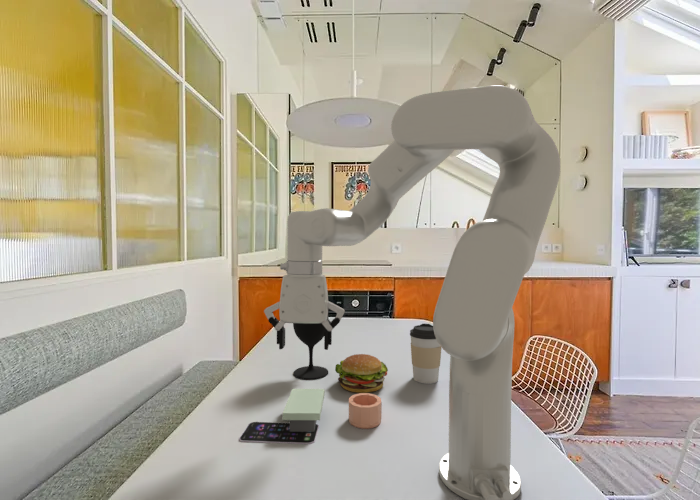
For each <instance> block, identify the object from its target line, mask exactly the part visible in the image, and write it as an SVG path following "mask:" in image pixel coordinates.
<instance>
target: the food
mask: <svg viewBox="0 0 700 500" xmlns="http://www.w3.org/2000/svg"><path fill="white" fill-rule="evenodd" d="M388 371H389V370H388V367H387V365H386V363H384V362H383V361H381V360H380V359H379V358H377V357H375V356H373V355H371V354H365V353H364V354H363V353H361V354H360V353H357V354H352V355H350V356H348V357H345V359H343V360H340V363H337V364H335V372H336V373H337V374H338V376H339V377H338V378H337V380H338V381H337V382H339V384H340V386H341V387H342V388H343V389H344V390H346V391H349V392H352V393H355V394H359V393H373V392H377V391H379V390H381V389H382V388H383V386H384V382H385V377H386V376H387V375H388Z"/></svg>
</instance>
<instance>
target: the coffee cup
mask: <svg viewBox="0 0 700 500" xmlns="http://www.w3.org/2000/svg"><path fill="white" fill-rule="evenodd" d="M409 336H410V354H411V364H412V375H413V376H412V377H413V381H416V382H418V383H422V384H435V383H437V382H438V381H439V376H440V375H439V374H440V366H441V359H442V358H441V357H442V347H441V346H440V345H439V343H438V341H437V339H436V337H435V334H434V329H433V324H431V323H422V324H419V325H414V326H413V328H412V329H410V330H409Z"/></svg>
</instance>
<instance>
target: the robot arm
mask: <svg viewBox="0 0 700 500" xmlns="http://www.w3.org/2000/svg"><path fill="white" fill-rule="evenodd" d="M390 126H391V128H390V129H391V130H390V131H391V135H392V138H393V141H392V142H391V143H390V144H389V145H388V146H387V147H386V148H385V149H384V150H383V151H382V152H381V153H380V154H379V155H377V156H376V157H375V158H374V159H373V160H372V161H371V162H370V164H369V165H368V167H367V173H368V176H369V179H370V186H369V189H368V191H367V192H366V194H365V196H364V197H362V199H361V200H360V201H359V202H358V203H356V204H355V205H354V206H353V207H352V208H351V209H349V210H343V209H336V208H320V209H316V210H298V211H295V210H294V211H291V212H290V213H289V215H288V216H287V221H286V222H287V223H286V224H287V229H286V230H287V239H286V240H287V242H286V243H287V244H286V245H287V246H286V248H287V249H286V251H287V253H286V254H287V255H286V256H287V257H286V259H287V260H286V261H285V262H283V263H280V266H279V268H280V270H284V271H285V272H286V273H285V275H283V276H282V281H281V287H280V298H279V301H277V302H276V303H274V304H271V305H270V306H268V307H266V308H265V309H264V310H263V313H264V314H265V317H266V318H267V320H268V323H270V325H271V326H272V327H273V328H274V330H275V331H276V344H277V345H278V346H279V347H278V348H279V350H283V349H284V348H285V346H286V328H285V326H284V325H286V324H293V323H322V324H323V326H324V327H325V328H326V329H325V332H324V337H323V338H324V340H323V341H324V344H323V345H324V346H323V348H324V349H323V350H326V351H328V350H329V346H332V342H333V341H332V335H333V334H332V333H333V332H332V331H333V330H334V329H335V327H336V326H338V324H339V323H340V322H341V320H342V318H343V316H344V314H345V313H346V312H345V309H344V308H342V307H340V306H339V305H337V304H335V303H334V302H331V301H329V294H328V284H327V279H326V278H327V276H326V275H325V274H323V247H340V246H341V247H345V246H346V247H350V246H355V245H358V244H360V243H362V242H363V241H364V240H366V239H367V238H368V237H370V236H371V235H372V234H374V232H375V231H377V230H378V229H379V228H380V227H381V226H382V225H384V224H385V223H386V221H388V219H389V218H390V216H392V213H393V212H394V210H395V208H396V207H397V206H398V202H399V201H400V200H401V198H403V197H404V195H406V194H407V193H408V192H409V191H410V190H411V189H413V187H415V186H416V185H417V184H418V183H419V182H421V181H422V180H423V179H424V178H426V176H428V175H429V174H430V173H431V172H432V171H434V170H435V169H436V168H437V167H438V166H439V165H441V164H442V163H443V162H444V161H446V160H447V159H448V158H449V157H450V155H452V154H453V153H454V151H455V150H460V151H461V150H479V151H480V152H481V153H482V154H483V155H485V156H486V157H487V158H489V160H491V161H494V162H495V163H496V164H497V165H498V168H499V174H498V177H497V180H496V182H495V185H494V187H493V189H492V192H491V195H490V198H489V202H488V205H487V207H486V211H485V213H484V216H483V219H482V220H481V221H478V222H476V223H474V224H472V225H471V226H470V227H468V228H467V229H466V230H465V231H464V232H463V233H462V235H461V236H460V238H459V239H458V240H457V243H456V245H455V247H454V250H453V253H452V255H451V259H450V261H449V265H448V267H447V271H446V274H445V276H444V280H443V283H442V285H441V289H440V293H439V295H438V298H437V302H436V304H435V308H434V313H433V318H432V319H433V320H432V326H433V329H434V334H435V337H436V339H437V341H438V343H439V345H440V346H441V349H442V350H444V352H445V353H447V354H448V356H450V357H449V381H448V383H449V384H448V387H449V388H448V389H449V391H448V392H449V393H448V397H449V398H448V453H446V454H445V455H444V456H442V458H441V459H439V464H438V474H439V478H440V479H441V482H443V484H444V485H445V486H446V488H448V489H449V490H450V491H452V492H453V493H454V494H456V495H457V496H459V497H461V498H463V499H465V500H516V499H517V498H518V497H519V495H520V493H521V490H522V480H521V477H520V475H519V473H518V471H516V469H515V468H514V467H513V466H512V465H511V451H512V450H511V446H512V445H511V442H512V441H511V439H512V438H511V437H512V435H511V434H512V433H511V432H512V391H513V390H512V389H513V387H512V386H513V385H512V384H513V383H512V381H513V379H512V378H513V377H512V376H513V355H514V339H515V324H516V323H515V313H514V309H513V306H514V304H515V300H516V298H517V295H518V293H519V289H520V288H521V285H522V283H523V282H522V281H523V279H524V276H525V275H526V274H527V273H528V272H529V271H530V269H532V266H533V264H534V262H535V257H536V251H537V248H538V244H539V242H540V239H541V236H542V233H543V230H544V227H545V225H546V222H547V219H548V216H549V213H550V209H551V205H552V203H553V200H554V197H555V194H556V191H557V188H558V183H559V181H560V176H561V158H560V154H559V150H558V148H557V145H556V142H555V141H554V139H553V138H552V137H551V136H550V134H549V133H548V132H547V131H546V129H544V128H543V127H542V126H541V125H540V124H539V123H538V122H537V121H536V120H535V117H534V115H533V113H532V110H531V107H530V104H529V102H528V100H527V99H526V97H525V96H524V95H523V94H522V93H520V92H519V91H518V90H517V89H514V88H512V87H510V86H504V85H486V86H485V85H483V86H476V87H469V88H468V87H466V88H459V89H453V90H452V89H451V90H443V91H435V92H429V93H428V92H427V93H424V94H419V95H416V96H414V97H411V98H409V99H407V100H406V101H404V102H403V103H402V104H400V106H399V107H398V108H397V110H395V113H394V115H393V117H392V120H391V125H390ZM277 310H278V311H279V313H278V314H279V319H278V318H277V317H276V316H275V315H274V312H275V311H277ZM329 310H330V311H333V312H334V313H336V315H335V317H334V318H333V319H332V320H330V319H329ZM327 316H328V318H327Z"/></svg>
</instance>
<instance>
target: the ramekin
mask: <svg viewBox="0 0 700 500" xmlns="http://www.w3.org/2000/svg"><path fill="white" fill-rule="evenodd" d="M382 403H383V402H382V397H379V396H378V395H377V394H373V393H371V392H368V393H355V394H352V395H351V396H350V397H349V398H348V423H349V424H350V425H351V426H352V427H354V428H357V429H362V430H369V429H374V428H376V427H379V426H380V425H381V423H382V413H383V412H382V406H383V405H382Z"/></svg>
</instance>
